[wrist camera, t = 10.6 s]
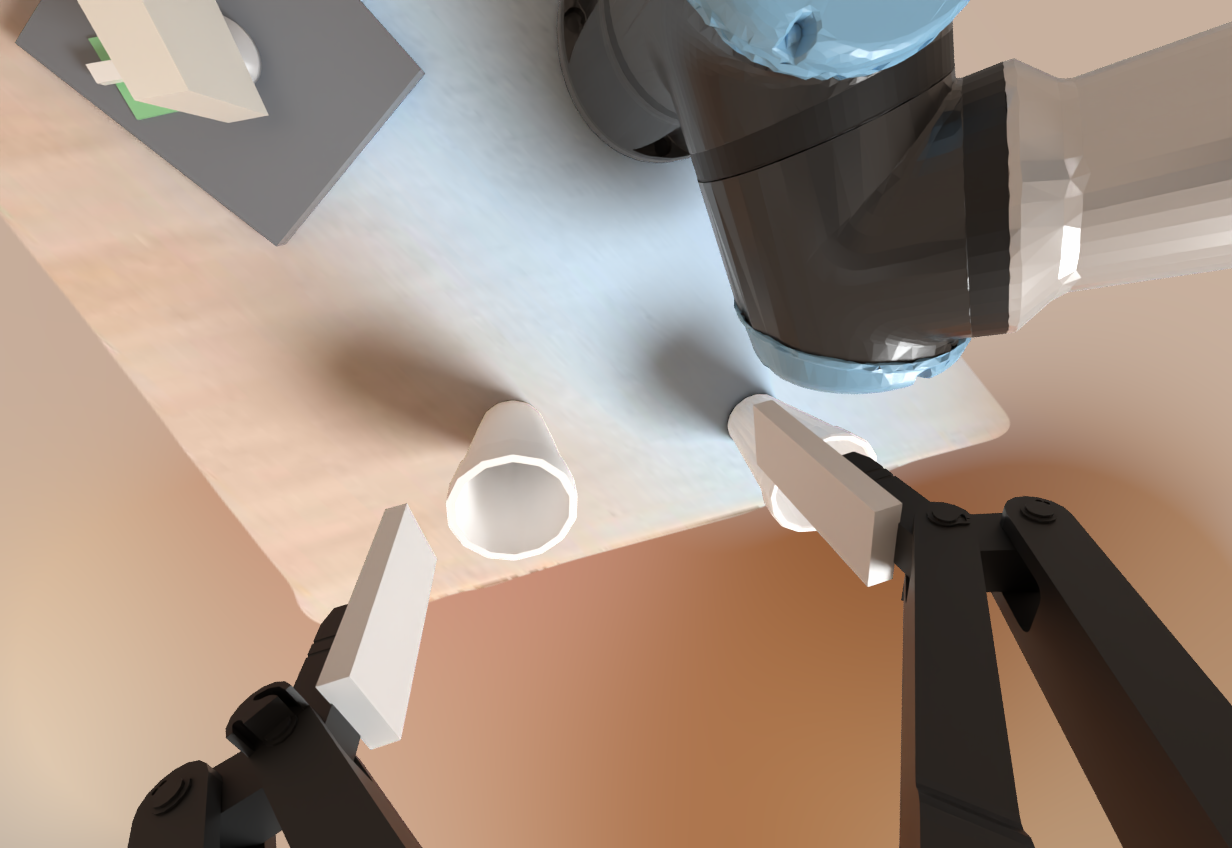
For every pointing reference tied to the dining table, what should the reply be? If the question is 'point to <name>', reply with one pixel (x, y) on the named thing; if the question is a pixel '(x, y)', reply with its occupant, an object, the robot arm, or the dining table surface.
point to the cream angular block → (178, 56)
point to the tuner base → (288, 86)
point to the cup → (772, 495)
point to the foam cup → (511, 487)
